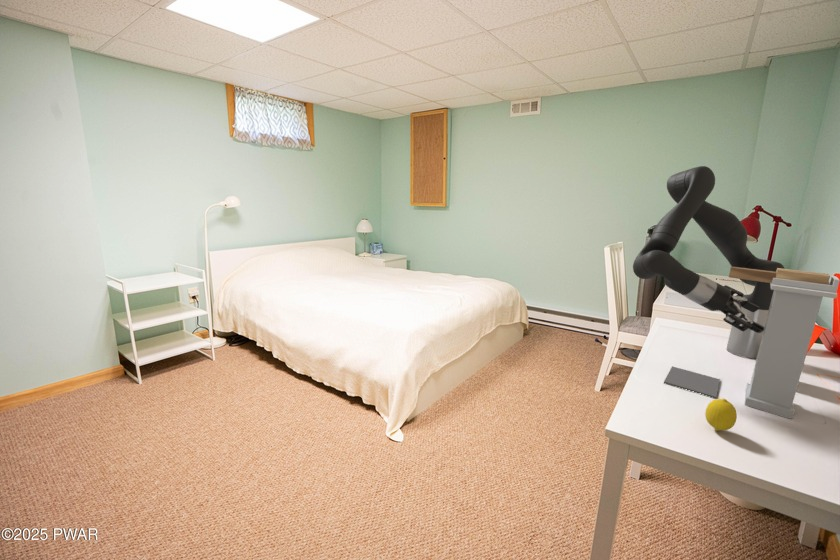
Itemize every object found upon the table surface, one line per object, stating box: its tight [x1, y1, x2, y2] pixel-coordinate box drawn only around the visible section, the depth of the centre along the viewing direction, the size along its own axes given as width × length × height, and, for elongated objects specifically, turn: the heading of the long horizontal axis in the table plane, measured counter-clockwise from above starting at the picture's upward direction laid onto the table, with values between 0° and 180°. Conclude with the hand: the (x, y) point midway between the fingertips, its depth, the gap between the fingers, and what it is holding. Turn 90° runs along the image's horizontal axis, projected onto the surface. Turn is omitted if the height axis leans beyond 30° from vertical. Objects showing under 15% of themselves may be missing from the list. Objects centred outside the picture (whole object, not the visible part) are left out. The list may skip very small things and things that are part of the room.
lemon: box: [704, 398, 738, 432], centre depth 87 cm, size 6×6×8 cm
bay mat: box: [663, 366, 721, 400], centre depth 111 cm, size 14×12×1 cm
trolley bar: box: [728, 267, 831, 285], centre depth 95 cm, size 4×18×4 cm, turn 49°
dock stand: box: [744, 275, 840, 420], centre depth 96 cm, size 11×11×35 cm
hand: (759, 320), depth 107 cm, fingers open, 8 cm apart
